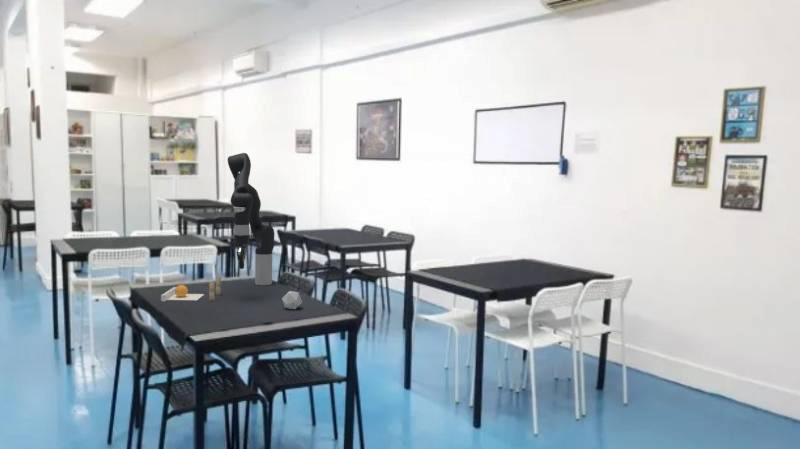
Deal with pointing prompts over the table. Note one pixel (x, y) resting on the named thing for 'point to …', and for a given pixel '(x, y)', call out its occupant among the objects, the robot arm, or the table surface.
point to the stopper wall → (168, 294)
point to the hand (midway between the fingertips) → (241, 268)
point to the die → (292, 300)
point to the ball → (181, 291)
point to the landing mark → (187, 297)
